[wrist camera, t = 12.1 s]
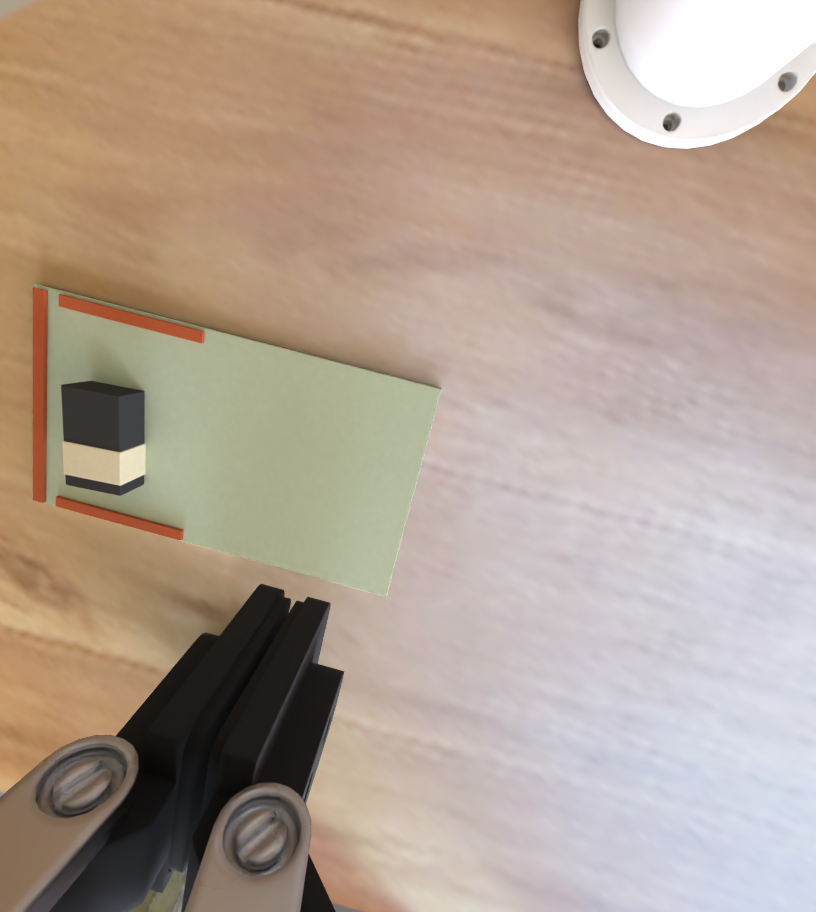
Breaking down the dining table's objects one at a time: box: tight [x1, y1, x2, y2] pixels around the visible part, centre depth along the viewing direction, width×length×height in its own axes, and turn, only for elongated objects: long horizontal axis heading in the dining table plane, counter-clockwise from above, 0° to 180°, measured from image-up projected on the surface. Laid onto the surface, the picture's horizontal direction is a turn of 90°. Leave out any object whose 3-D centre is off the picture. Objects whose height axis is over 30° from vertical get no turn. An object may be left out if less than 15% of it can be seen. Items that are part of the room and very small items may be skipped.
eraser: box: [61, 381, 146, 496], centre depth 31 cm, size 7×4×3 cm, turn 170°
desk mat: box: [33, 284, 441, 597], centre depth 32 cm, size 16×28×1 cm, turn 76°
